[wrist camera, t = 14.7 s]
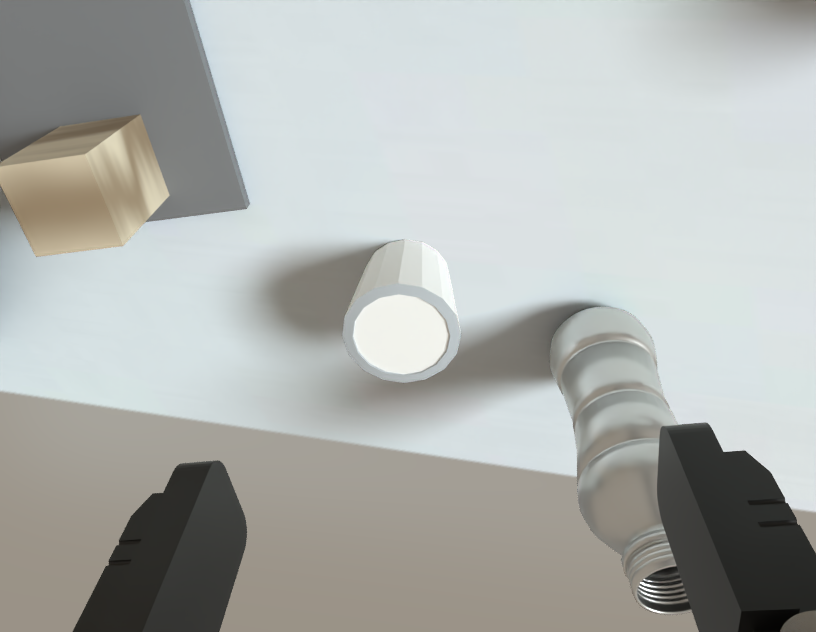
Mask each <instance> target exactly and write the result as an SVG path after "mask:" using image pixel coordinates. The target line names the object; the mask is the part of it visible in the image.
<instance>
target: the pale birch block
mask: <svg viewBox="0 0 816 632" xmlns="http://www.w3.org/2000/svg"><path fill="white" fill-rule="evenodd" d="M0 185H1V187H2V189H3V191H4V193H5V195H6V197H7V199H8V201H9V203H10V205H11V207H12V209H13V211H14V213H15V215H16V217H17V220H18V222H19V224H20V226H21V228H22V230H23V232H24V234H25V236H26V238H27V240H28V242H29V244H30V246H31V248H32V250H33V252H34V254H35V256H36V257H39V256H47V255H55V254H63V253H71V252H79V251H87V250H95V249H103V248H111V247H119V246H124V245H125V244H126V242H127V241H128V240H129V239H130V238H131V237H132V236H133V235H134V234H135V233H136V232H137V230H138V229H139V228H140V227H141V226H142V225H143V224H144V223H145V222H146V221H147V220H148V218H149V217H150V216H151V215H152V214H153V213H154V212H155V211H156V210H157V209H158V208H159V206H160V205H161V204H162V203H163V202H164V201H165V200H166V199H167V198H168V197H169V196H170V195H169V192H168V190H167V187H166V184H165V181H164V178H163V176H162V173H161V170H160V167H159V165H158V162H157V159H156V156H155V153H154V151H153V148H152V145H151V142H150V140H149V137H148V134H147V131H146V128H145V126H144V123H143V120H142V117H141V115H140V114H139V115H133V116H126V117H119V118H113V119H106V120H99V121H93V122H86V123H79V124H73V125H66V126H60V127H58V128H57V129H55V130H53V131H52V132H50V133H48V134H47V135H45V136H43V137H42V138H40V139H38V140H37V141H35V142H34V143H32V144H30V145H29V146H27V147H25V148H24V149H22V150H20V151H19V152H17V153H15V154H14V155H12V156H10V157H9V158H7V159H5V160H4V161H2V162H0Z"/></svg>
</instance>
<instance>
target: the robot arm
mask: <svg viewBox="0 0 816 632" xmlns="http://www.w3.org/2000/svg"><path fill="white" fill-rule="evenodd" d="M657 499H658V507H659V512H660V517H661V521H662V524H663V527H664V530H665V533H666V536H667V539H668V542H669V545H670V548H671V551H672V554H673V557H674V560H675V562H676V565H677V568H678V571H679V574H680V577H681V580H682V583H683V586H684V589H685V592H686V595H687V598H688V601H689V604H690V607H691V610H692V613H693V615H694V618H695V621H696V624H697V627H698V630H699V632H816V553H815V551H814V550H813V548H812V546H811V544H810V542H809V541H808V539H807V537H806V535H805V533H804V532H803V530H802V528H801V526H800V525H798V524H797V520H796V517H795V515H794V514H793V512H792V510H791V508H790V506H789V505H788V503H786V502H785V497H784V496H783V494H782V492H781V490H780V488H779V487H778V485H777V483H776V481H775V480H774V478H773V476H772V474H771V472H770V471H769V470H767V469H766V468H765V467H764V466H763V465H761V464H760V463H759V462H758V461H757V460H755V459H754V458H753V457H752V456H751V455H750V454H748V453H747V452H746V451H732V452H723V450H722V448H721V446H720V444H719V442H718V440H717V438H716V436H715V434H714V432H713V430H712V428H711V427H710V425H709V424H708V423H694V424H682V425H670V426H662V427H661V429H660V437H659V456H658V474H657ZM246 538H247V527H246V520H245V516H244V513H243V510H242V508H241V505H240V503H239V500H238V498H237V496H236V493H235V491H234V488H233V486H232V483H231V481H230V478H229V476H228V473H227V471H226V468H225V466H224V465H223V463H221V462H220V461H206V462H194V463H183V464H179V465H178V466H177V467H176V468H175V470H174V471H173V473H172V476H171V478H170V480H169V482H168V484H167V486H166V488H165V491H164V493H155V494H152V495H151V496H150V497H149V498H148V499H147V500H146V501H145V502H144V503H143V504H142V505H141V507H139V509H138V510H137V511H136V512H135V513H134V514H133V515H132V516H131V518H130V520H129V522H128V524H127V526H126V528H125V530H124V532H123V533H122V535H121V538H120V540H119V545H117V546H116V547H115V550H114V551H113V553H112V555H111V557H110V559H109V565H108V566H106V567H105V569H104V571H103V573H102V575H101V577H100V579H99V581H98V583H97V585H96V587H95V589H94V591H93V593H92V595H91V597H90V599H89V601H88V602H87V604H86V607H85V609H84V610H83V613H82V614H81V616H80V618H79V620H78V622H77V624H76V626H75V628H74V630H73V632H219V631H220V628H221V624H222V621H223V618H224V615H225V611H226V608H227V605H228V601H229V598H230V595H231V592H232V589H233V586H234V582H235V579H236V576H237V572H238V569H239V566H240V563H241V560H242V556H243V553H244V550H245V546H246Z"/></svg>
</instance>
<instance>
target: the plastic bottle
mask: <svg viewBox="0 0 816 632" xmlns="http://www.w3.org/2000/svg"><path fill="white" fill-rule="evenodd" d="M549 363H550V369H551V372H552V374H553V376H554V379H555V381H556V383H557V385H558V387H559V389H560V391H561V393H562V394H563V396H564V398H565V401H566V404H567V407H568V410H569V413H570V415H571V418H572V421H573V427H574V434H575V441H576V448H577V486H578V489H577V492H578V502H579V508H580V512H581V514H582V516H583V518H584V520H585V521H586V523H587V524H588V526H589V528H590V530H591V531H592V532H593V534H594V535H595V536H596V537H597V538H598V539H600V540H601V541H602V542H604V543H605V544H606V545H608V546H609V547H610V548H611V549H613V550H614V551H616V552H617V553H619V554H620V555H622V558H621V561H622V566H623V570H624V573H625V575H626V577H627V578H628V579H629V583H630V586H631V590H632V594H633V595H634V598H635V600H636V602H637V603H638V604H639V605H640V606H641V607H643V608H644V609H646V610H648V611H650V612H653V613H657V614H664V615H678V614H685V613H690V612H692V610H691V607H690V604H689V601H688V598H687V595H686V592H685V589H684V586H683V583H682V580H681V577H680V574H679V571H678V568H677V565H676V562H675V560H674V557H673V554H672V551H671V548H670V545H669V542H668V539H667V536H666V533H665V530H664V527H663V524H662V521H661V517H660V512H659V507H658V499H657V474H658V456H659V437H660V429H661V427H662V426H670V425H678V423H677V421H676V419H675V417H674V415H673V413H672V411H671V410H670V408H669V405H668V403H667V401H666V399H665V397H664V393H663V390H662V386H661V382H660V379H659V375H658V371H657V357H656V351H655V346H654V342H653V340H652V337H651V335H650V334H649V332H648V331H647V329H646V328H645V327H644V326H643V324H642V323H641V322H640V321H639V320H638V319H637V318H636V317H635V316H634V315H632V314H631V313H629V312H627V311H625V310H622V309H619V308H613V307H593V308H588V309H585V310H582V311H580V312H578V313H576V314H574V315H572V316H571V317H569V318H568V319H567V320H566V321H564V322H563V323H562V324H561V325H560V326H559V328H558V329H557V330H556V332H555V334H554V335H553V338H552V341H551V348H550V360H549Z"/></svg>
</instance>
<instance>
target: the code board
mask: <svg viewBox="0 0 816 632" xmlns="http://www.w3.org/2000/svg"><path fill="white" fill-rule="evenodd" d="M139 114H140V115H141V117H142V120H143V123H144V126H145V128H146V131H147V134H148V137H149V140H150V142H151V145H152V148H153V151H154V153H155V156H156V159H157V162H158V165H159V167H160V170H161V173H162V176H163V178H164V181H165V184H166V187H167V190H168V192H169V195H170V196H169V197H168V198H167V199H166V200H165V201H164V202H163V203H162V204H161V205H160V206H159V208H158V209H157V210H156V211H155V212H154V213H153V214H152V215H151V216H150V217H149V218H148V220H147V221H146V222H149V221H157V220H165V219H172V218H180V217H188V216H196V215H203V214H211V213H219V212H227V211H234V210H242V209H247V207H248V206H249V204H250V203H249V199H248V196H247V193H246V189H245V186H244V183H243V179H242V176H241V173H240V169H239V166H238V162H237V159H236V156H235V152H234V149H233V146H232V142H231V139H230V135H229V132H228V129H227V125H226V122H225V119H224V115H223V112H222V108H221V105H220V102H219V98H218V95H217V92H216V88H215V85H214V82H213V78H212V75H211V71H210V68H209V65H208V61H207V58H206V55H205V51H204V48H203V44H202V41H201V38H200V34H199V31H198V28H197V24H196V21H195V17H194V14H193V11H192V7H191V4H190V1H189V0H0V158H1V160H2V161H4V160H5V159H7V158H9V157H10V156H12V155H14V154H15V153H17V152H19V151H20V150H22V149H24V148H25V147H27V146H29V145H30V144H32V143H34V142H35V141H37V140H38V139H40V138H42V137H43V136H45V135H47V134H48V133H50V132H52V131H53V130H55V129H57V128H58V127H60V126H66V125H73V124H79V123H86V122H93V121H99V120H106V119H113V118H119V117H126V116H133V115H139Z"/></svg>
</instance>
